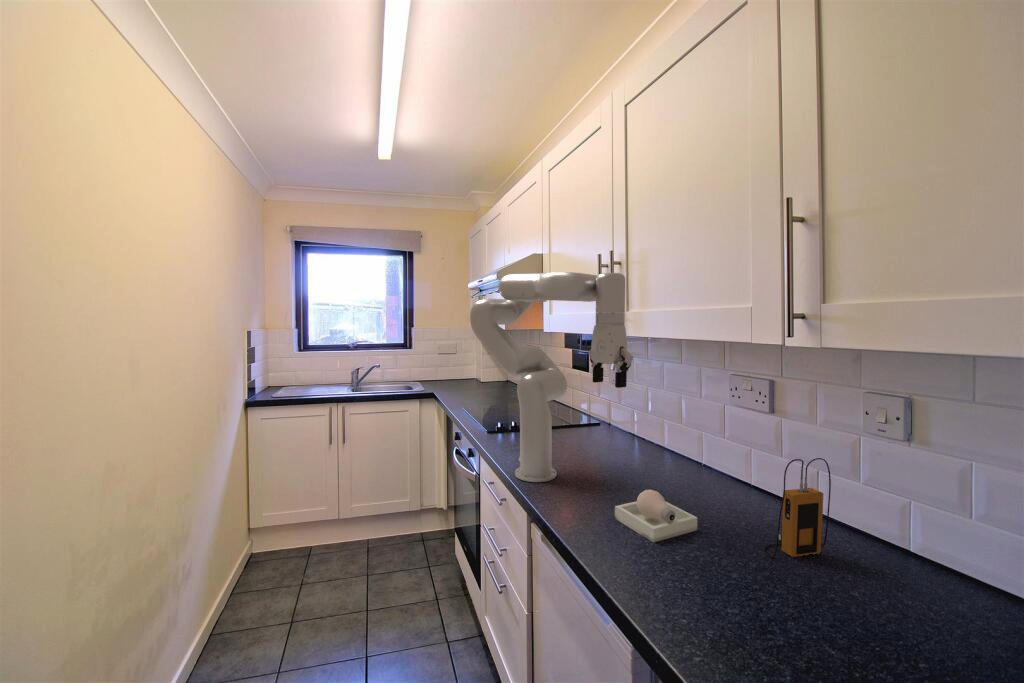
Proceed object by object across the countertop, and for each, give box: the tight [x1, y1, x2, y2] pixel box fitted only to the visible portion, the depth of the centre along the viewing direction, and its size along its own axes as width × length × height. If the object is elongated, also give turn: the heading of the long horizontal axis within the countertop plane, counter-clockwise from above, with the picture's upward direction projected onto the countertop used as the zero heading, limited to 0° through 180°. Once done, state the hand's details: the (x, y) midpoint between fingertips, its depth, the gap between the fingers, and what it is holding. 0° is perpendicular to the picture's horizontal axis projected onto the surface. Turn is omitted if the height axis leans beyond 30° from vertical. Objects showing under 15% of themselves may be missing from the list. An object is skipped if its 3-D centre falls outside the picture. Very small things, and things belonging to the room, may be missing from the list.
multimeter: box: [764, 457, 832, 559], centre depth 97 cm, size 15×10×20 cm
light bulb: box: [636, 489, 675, 523], centre depth 106 cm, size 7×7×11 cm
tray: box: [614, 500, 698, 543], centre depth 107 cm, size 13×13×3 cm
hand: (608, 384), depth 122 cm, fingers open, 9 cm apart
